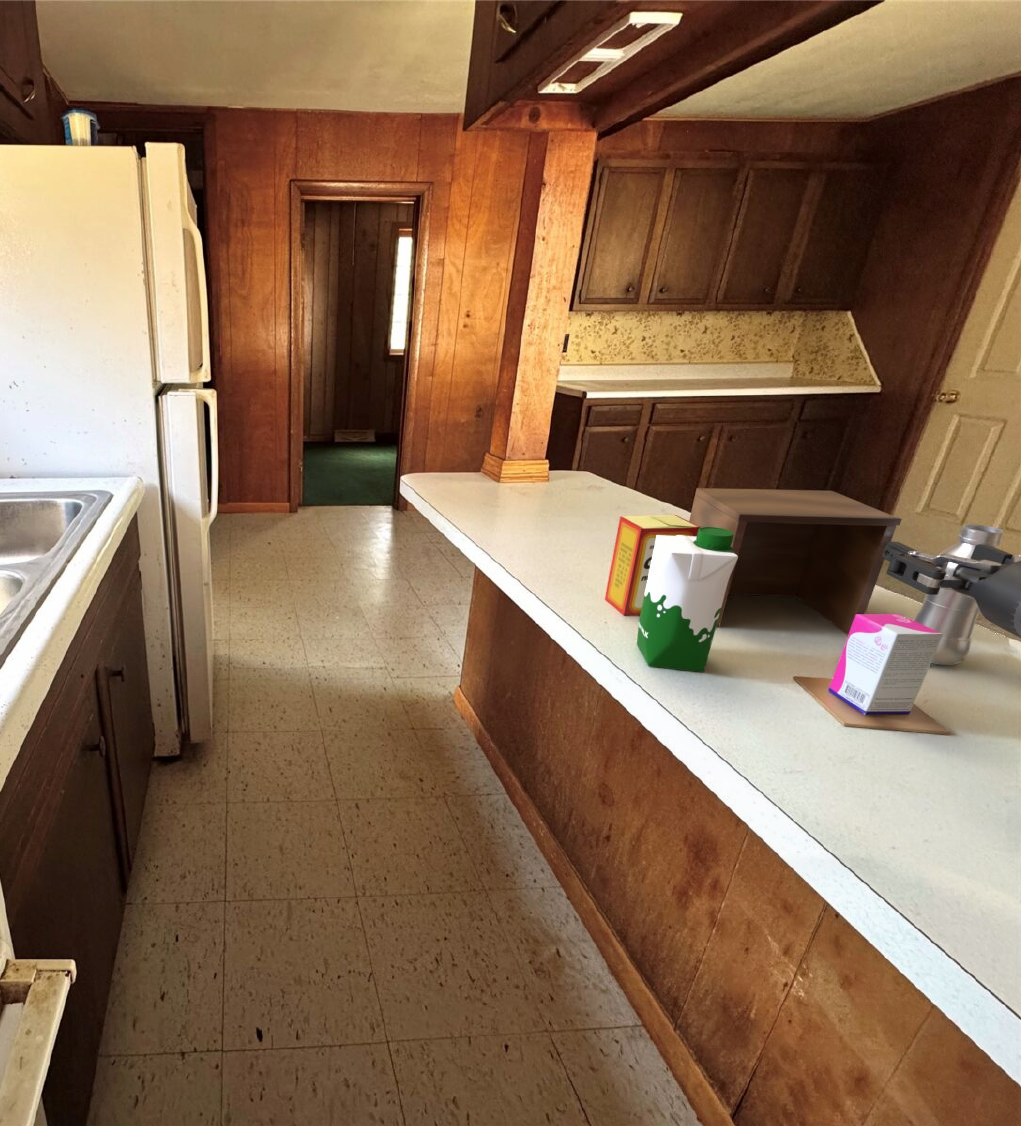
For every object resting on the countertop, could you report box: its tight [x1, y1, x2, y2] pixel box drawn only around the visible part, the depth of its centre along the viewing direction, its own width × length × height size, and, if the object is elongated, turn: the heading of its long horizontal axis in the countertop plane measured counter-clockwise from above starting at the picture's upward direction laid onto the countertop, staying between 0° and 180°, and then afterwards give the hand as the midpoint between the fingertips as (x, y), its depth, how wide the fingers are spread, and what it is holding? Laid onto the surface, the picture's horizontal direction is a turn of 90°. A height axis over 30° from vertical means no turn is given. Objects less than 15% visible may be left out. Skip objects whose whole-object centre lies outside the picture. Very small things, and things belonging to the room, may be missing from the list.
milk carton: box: [636, 527, 738, 673], centre depth 88 cm, size 9×9×20 cm
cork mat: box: [792, 675, 952, 736], centre depth 80 cm, size 11×11×1 cm
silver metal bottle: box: [912, 523, 1004, 666], centre depth 86 cm, size 6×7×20 cm
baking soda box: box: [604, 514, 701, 617], centre depth 105 cm, size 10×6×16 cm
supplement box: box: [828, 613, 943, 715], centre depth 78 cm, size 6×6×12 cm
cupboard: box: [688, 487, 903, 635], centre depth 102 cm, size 16×21×19 cm
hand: (932, 550), depth 71 cm, fingers open, 8 cm apart
